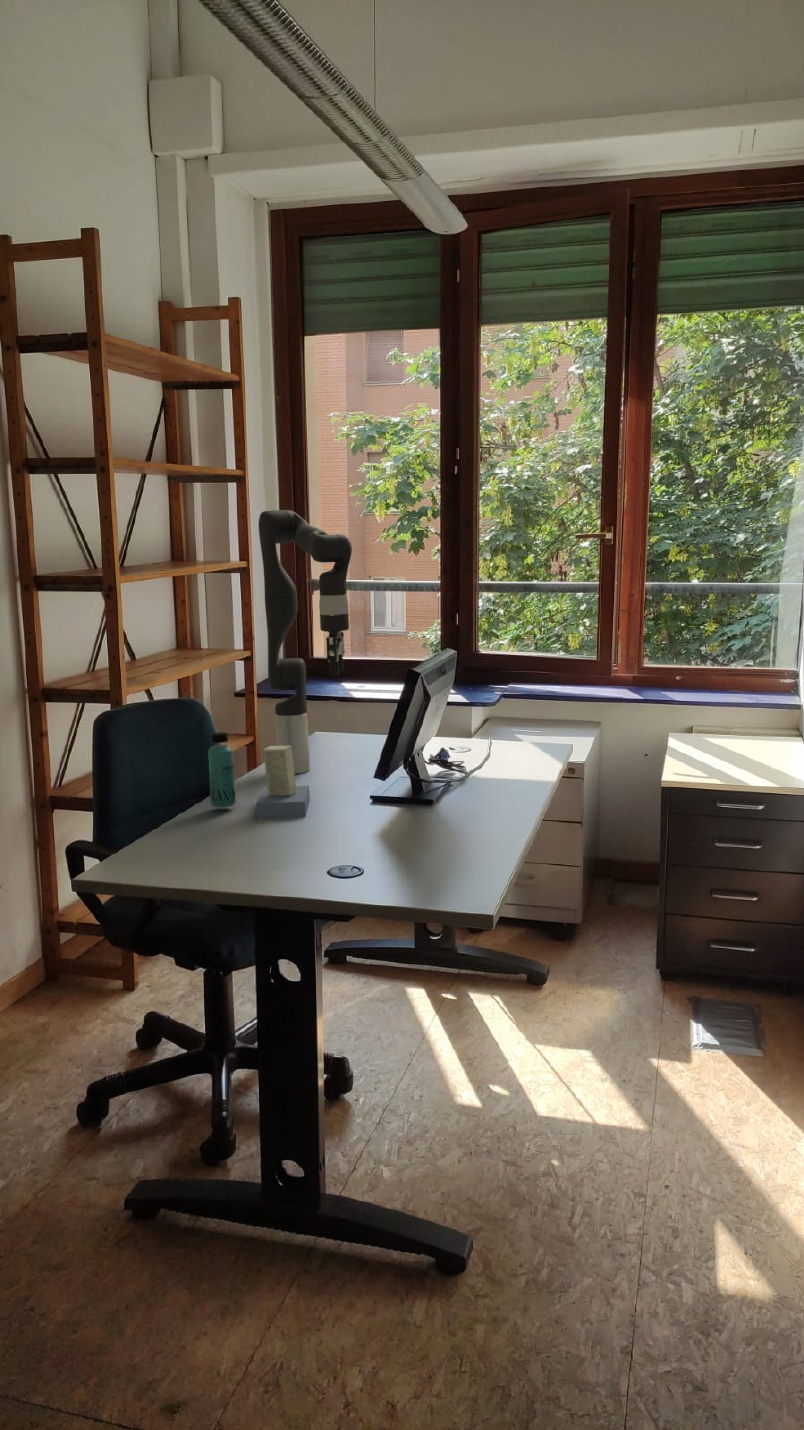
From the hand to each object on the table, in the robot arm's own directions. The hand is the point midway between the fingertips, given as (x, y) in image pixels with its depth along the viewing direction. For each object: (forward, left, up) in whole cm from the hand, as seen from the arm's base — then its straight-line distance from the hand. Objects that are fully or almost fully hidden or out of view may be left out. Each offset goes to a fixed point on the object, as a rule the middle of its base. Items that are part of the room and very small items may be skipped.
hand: (336, 673), depth 278 cm
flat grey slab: (+17, -12, -33) cm, 39 cm away
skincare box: (+17, -13, -28) cm, 35 cm away
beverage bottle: (+17, -28, -32) cm, 46 cm away
